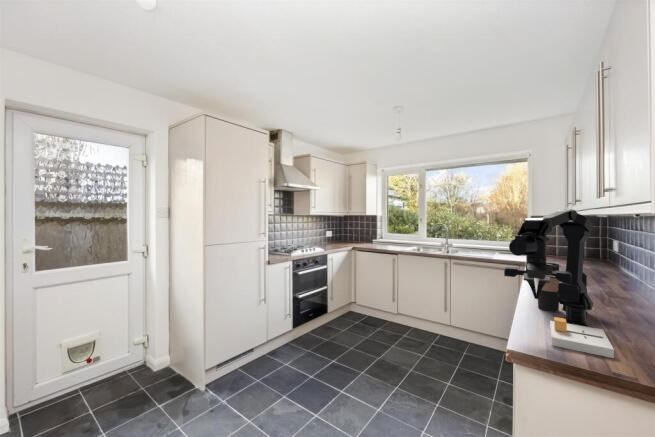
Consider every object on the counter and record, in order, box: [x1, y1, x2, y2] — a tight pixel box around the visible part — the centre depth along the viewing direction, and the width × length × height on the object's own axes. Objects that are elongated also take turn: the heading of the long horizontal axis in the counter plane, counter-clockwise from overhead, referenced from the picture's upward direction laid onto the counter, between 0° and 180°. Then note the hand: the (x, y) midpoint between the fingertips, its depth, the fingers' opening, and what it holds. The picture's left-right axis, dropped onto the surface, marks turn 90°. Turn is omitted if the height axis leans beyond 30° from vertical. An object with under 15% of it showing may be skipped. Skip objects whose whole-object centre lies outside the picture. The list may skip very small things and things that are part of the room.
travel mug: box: [536, 262, 560, 313], centre depth 125 cm, size 8×8×20 cm
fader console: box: [549, 320, 615, 359], centre depth 93 cm, size 18×14×3 cm
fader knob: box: [553, 316, 568, 332], centre depth 96 cm, size 4×3×3 cm
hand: (536, 298), depth 99 cm, fingers closed
